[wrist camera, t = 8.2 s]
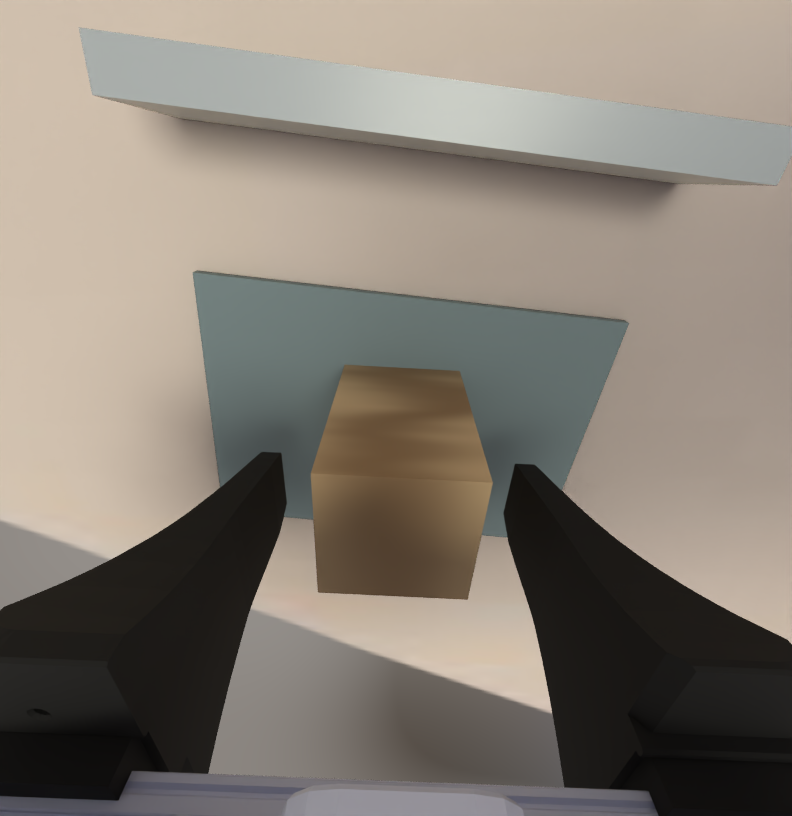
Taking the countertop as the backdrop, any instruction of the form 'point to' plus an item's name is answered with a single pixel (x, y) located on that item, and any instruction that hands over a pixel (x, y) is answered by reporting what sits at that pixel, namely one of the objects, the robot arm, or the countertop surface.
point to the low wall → (432, 112)
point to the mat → (403, 348)
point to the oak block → (399, 485)
